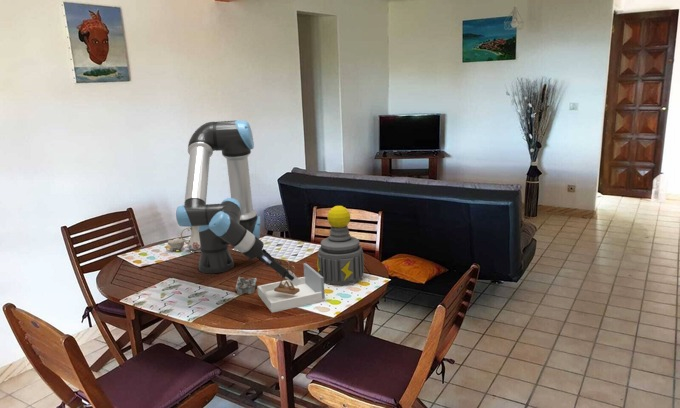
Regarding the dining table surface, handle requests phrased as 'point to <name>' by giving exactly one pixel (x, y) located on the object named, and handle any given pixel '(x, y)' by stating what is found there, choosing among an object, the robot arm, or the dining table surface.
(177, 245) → the chinaware
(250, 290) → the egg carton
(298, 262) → the dining table surface
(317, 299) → the holder tray
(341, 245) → the decorative lamp
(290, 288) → the brown openwork figurine
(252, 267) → the dining table surface
